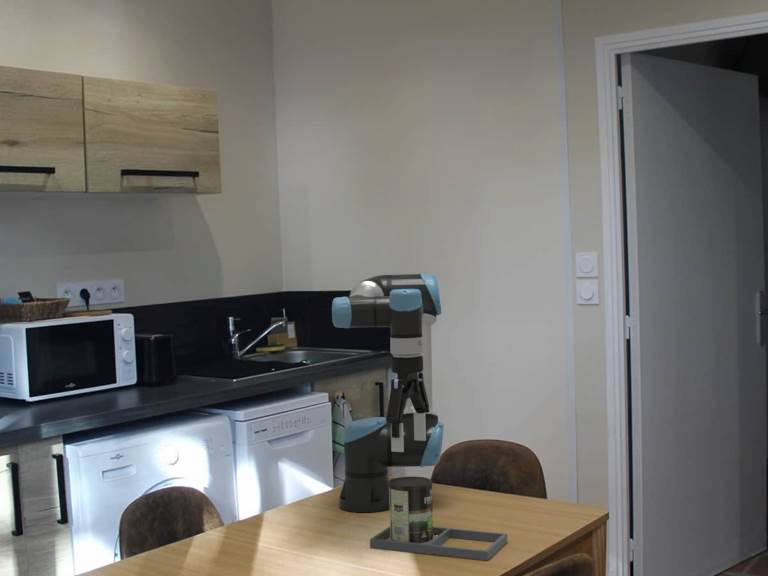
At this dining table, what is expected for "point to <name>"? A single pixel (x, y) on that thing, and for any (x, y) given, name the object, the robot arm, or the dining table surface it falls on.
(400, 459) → the robot arm
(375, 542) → the organiser
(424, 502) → the coffee can
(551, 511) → the dining table surface
